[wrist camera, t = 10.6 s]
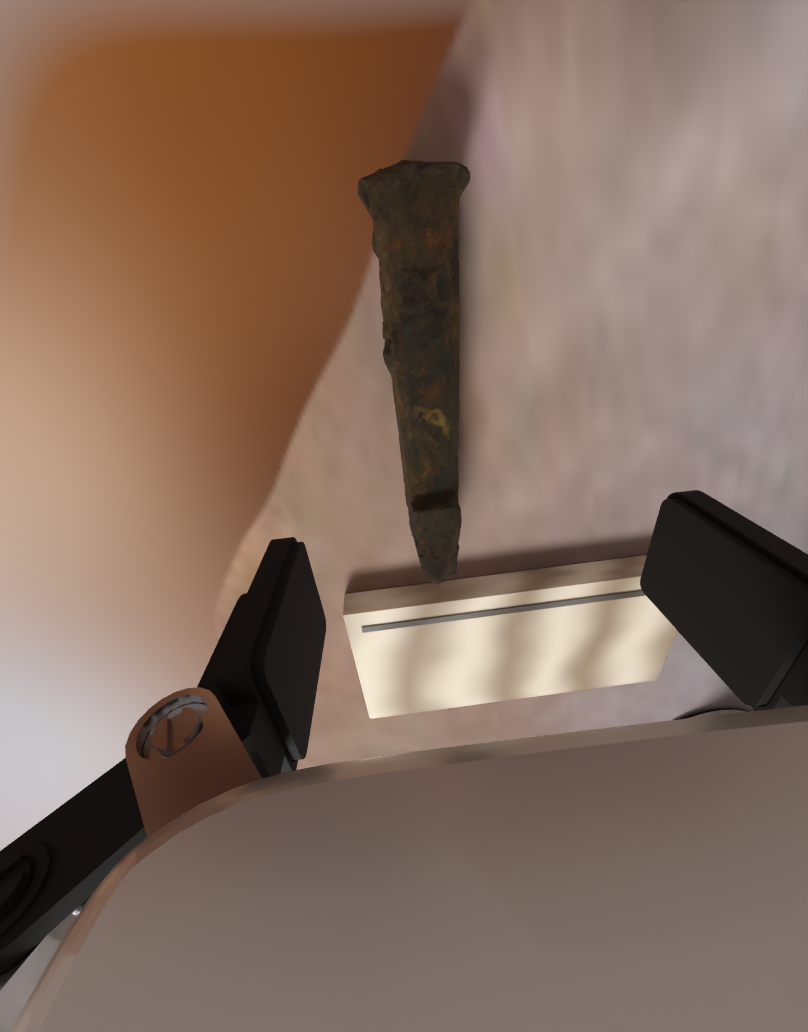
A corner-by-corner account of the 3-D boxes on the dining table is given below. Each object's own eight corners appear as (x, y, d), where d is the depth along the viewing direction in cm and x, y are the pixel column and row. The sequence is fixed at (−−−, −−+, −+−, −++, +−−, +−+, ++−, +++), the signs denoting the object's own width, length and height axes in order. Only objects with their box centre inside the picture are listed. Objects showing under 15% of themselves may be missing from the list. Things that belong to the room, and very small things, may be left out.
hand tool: (358, 183, 15) (355, 146, 11) (456, 179, 15) (487, 142, 11) (388, 555, 25) (392, 606, 21) (447, 550, 25) (462, 599, 21)
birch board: (681, 550, 27) (704, 569, 25) (641, 659, 33) (657, 681, 31) (344, 594, 26) (342, 616, 24) (369, 696, 32) (369, 720, 31)
